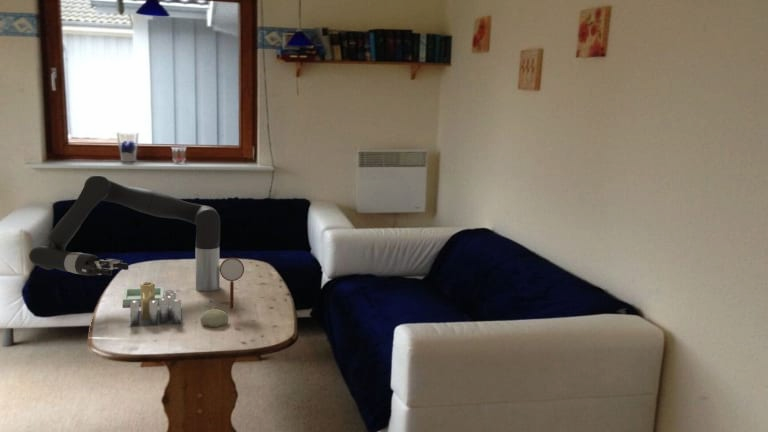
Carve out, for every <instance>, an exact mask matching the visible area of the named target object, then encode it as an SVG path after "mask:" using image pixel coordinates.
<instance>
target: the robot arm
mask: <svg viewBox="0 0 768 432" xmlns="http://www.w3.org/2000/svg"><path fill="white" fill-rule="evenodd" d="M101 201H104V202H109V203H114V204H119V205H122V206H124V207H127V208H129V209H132V210H135V211H137V212H139V213H143V214H147V215H150V216H154V217H158V218H165V219H175V220H176V219H178V220H182V221H186V222H189V223H191V224H193V225H195V226H196V227H195V228H196V229H195V234H196V235H195V289H196V291H199V292H213V291H219V290H220V287H221V286H220V285H221V283H220V279H221V278H220V277H221V273H220V266H221V265H220V242H221V218H220V217H221V216H220V214H219V213H218V211H217V210H216V209H215V208H214V207H212V206H209V205H202V204H198V203H192V202H188V201H184V200H182V199H180V198H178V197H174V196H171V195H168V194H165V193H162V192H159V191H155V190H152V189H147V188H141V187H135V186H128V185H124V184H120V183H118V182H116V181H113V180H110V179H108V178H107V177H105V176H104V175H101V174H93V175H91V176H89V177H87V179H86V180H85V182H84V185H83V188H82V190H81V192H80V194H79V195H78V197H77V199H76V200H75V202H74V203H73V205H72V206H71V207H70V208H69V209H68V211H67V212H66V213H65V214H64V215H63V216H62V218H61V219H60V220H59V221H58V222H57V224H56V225H55V226H54V228H53V229H52V231H51V232H50V233H49V235H47V236H48V237H47V238H48V241H49V242H50V243H51V245H50V247H49V246H45V245H38V246H35V247H34V248H32V249H31V250H30V251H29V254H28V258H29V261H30V262H31V263H32V264H33V265H35V266H37V267H40V268H42V269H44V270H47V271H48V270H49V271H51V270H53V269H56V270H59V271H62V272H68V273H69V272H70V273H72V274H77V275H83V276H89V277H91V276H94V277H97V275H98V276H101V275H104V276H109V277H110V276H112V275H113V270H124V271H128V270H129V264H128V263H126V262H125V263H124V262H123V260H121V259H116V258H115V259H114V258H106V259H105V260H104V259H99V257H98V256H97V255H95V254H91V253H83V252H73V251H72V252H71V251H68V250H67V251H66V248H67V245H68V244H69V242H70V241H71V240H72V238H74V236H75V235H76V233H77V232H78V231H79V230H80V228H81V226H82V224H83V222H84V221H85V219H86V218H87V217H88V215H89V214H90V213H91V211H92V210H93V209H94V208H95V207H96V206H97V205H98V204H99V203H100V202H101Z"/></svg>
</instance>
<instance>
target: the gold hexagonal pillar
mask: <svg viewBox="0 0 768 432" xmlns="http://www.w3.org/2000/svg"><path fill="white" fill-rule="evenodd" d="M155 287H156V286H155V283H154V281H153V282H152V281H146V282H141V283H140V286H139V288H141V305H140V311H141V317H142V319H150V315H149V301H151V300H155Z"/></svg>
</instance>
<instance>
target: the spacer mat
mask: <svg viewBox="0 0 768 432" xmlns="http://www.w3.org/2000/svg"><path fill="white" fill-rule="evenodd" d="M175 325H176V326H178V325H184V318H183V308H181V324H173V320H168V322H167V323H159V309H158V325H150V319H142V317H141V310H139V325H137V326H132V325H131V323H130V324H129V327H130V328H140V327H141V328H143V327H158V326H159V327H160V326H175Z"/></svg>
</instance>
